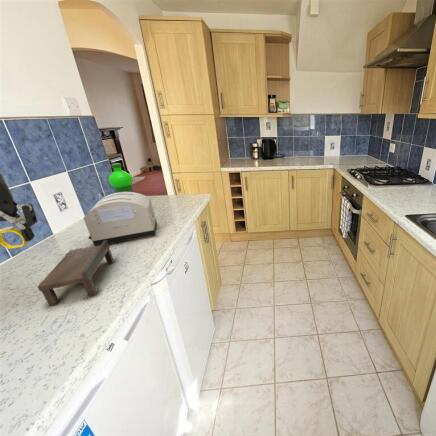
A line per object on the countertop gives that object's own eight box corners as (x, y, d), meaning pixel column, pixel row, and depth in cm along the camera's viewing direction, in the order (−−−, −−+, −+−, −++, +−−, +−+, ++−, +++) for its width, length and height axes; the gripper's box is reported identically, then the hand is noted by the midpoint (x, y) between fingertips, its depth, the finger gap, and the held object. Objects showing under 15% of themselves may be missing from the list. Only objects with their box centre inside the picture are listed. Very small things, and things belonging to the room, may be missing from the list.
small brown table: (48, 306, 66) (34, 282, 63) (77, 267, 83) (68, 246, 80) (96, 295, 69) (85, 272, 66) (114, 260, 87) (107, 239, 83)
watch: (33, 243, 70) (24, 225, 68) (26, 248, 68) (16, 229, 65) (8, 246, 69) (-2, 227, 67) (0, 251, 67) (-11, 231, 64)
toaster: (91, 249, 94) (73, 207, 87) (106, 225, 115) (93, 190, 108) (157, 236, 103) (146, 197, 96) (160, 216, 124) (151, 183, 117)
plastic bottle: (141, 204, 141) (128, 161, 131) (139, 210, 132) (125, 164, 122) (121, 207, 137) (106, 163, 127) (117, 213, 128) (101, 166, 118)
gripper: (28, 177, 67) (53, 232, 73) (-44, 183, 62) (-11, 241, 69) (11, 184, 60) (39, 243, 67) (-71, 191, 56) (-32, 254, 62)
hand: (14, 242), depth 68 cm, fingers closed on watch, 6 cm apart
